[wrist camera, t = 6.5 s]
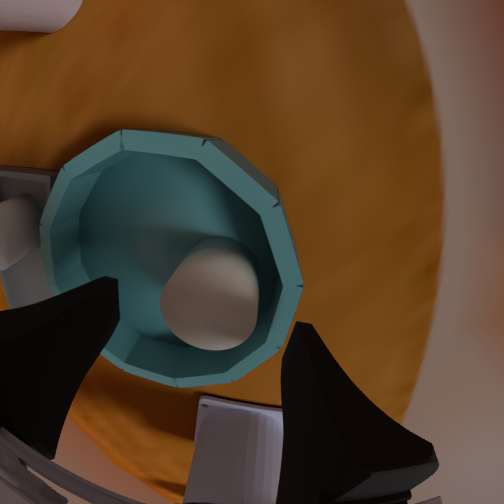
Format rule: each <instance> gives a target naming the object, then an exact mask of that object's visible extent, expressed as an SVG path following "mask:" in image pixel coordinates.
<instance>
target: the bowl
mask: <svg viewBox="0 0 504 504" xmlns="http://www.w3.org/2000/svg"><path fill="white" fill-rule="evenodd" d="M40 223H41V225H39V228H40V240H41V249H42V257H43V265H44V272H45V278H46V282H49V283H48V284H47V285H48V287H49V289H50V291H51V293H52V294H53V296H56V295H59V294H61V293H64V292H66V291H69V290H71V289H74V288H76V287H78V286H81V285H83V284H85V283H88V282H90V281H92V280H95V279H98V278H100V277H103V276H108V277H112V278H115V279H118V289H119V307H120V321H119V323H118V325H117V327H116V329H115V331H114V333H113V335H112V337H111V338H110V340H109V341H108V343H107V344H106V346H105V347H104V349H103V350H102V352H101V353H100V354H101V355H102V356H104V357H105V358H106V359H108V360H109V361H110V362H112V363H113V364H114V365H116V366H117V367H118V368H120V369H122V368H123V370H124V371H125V372H128V373H131V374H134V375H137V376H140V377H143V378H146V379H149V380H152V381H155V382H159V383H162V384H166V385H169V386H173V387H176V386H178V387H179V388H182V387H194V386H205V385H214V384H222V383H230V382H232V381H233V380H234V381H236V380H238V379H239V378H241V377H242V376H244V375H245V374H247V373H248V372H250V371H251V370H253V369H254V368H255V367H257V366H258V365H260V364H261V363H263V362H264V361H265V360H267V359H268V358H270V357H271V356H272V355H274V354H275V353H276V352H278V351H279V350H280V347H282V346H283V344H284V341H285V338H286V336H287V333H288V330H289V327H290V325H291V322H292V319H293V316H294V313H295V311H296V308H297V305H298V302H299V299H300V296H301V293H302V290H303V279H302V274H301V269H300V264H299V259H298V254H297V249H296V246H295V242H294V239H293V236H292V232H291V229H290V225H289V222H288V219H287V215H286V212H285V209H284V205H283V202H282V199H281V196H280V193H279V189H277V187H276V185H275V184H274V183H273V182H272V181H271V180H270V179H268V178H267V177H266V176H265V175H264V174H263V173H262V172H261V171H259V170H258V169H257V168H256V167H255V166H254V165H253V164H251V163H250V162H249V161H248V160H247V159H246V158H245V157H243V156H242V155H241V154H240V153H239V152H238V151H236V150H235V149H234V148H233V147H232V146H231V145H229V144H228V143H227V142H226V141H225V140H221V139H220V138H214V137H208V136H201V135H194V134H187V133H180V132H171V131H162V130H141V129H122V130H118V131H117V132H115V133H113V134H111V135H110V136H108V137H106V138H105V139H103V140H101V141H100V142H98V143H96V144H95V145H93V146H91V147H90V148H88V149H87V150H85V151H84V152H82V153H81V154H79V155H78V156H76V157H75V158H73V159H72V160H70V161H69V162H67V163H66V164H65V165H64V167H63V168H61V170H60V172H59V174H58V177H57V179H56V181H55V183H54V186H53V188H52V191H51V193H50V196H49V198H48V201H47V203H46V206H45V209H44V211H43V214H42V217H41V220H40ZM217 236H219V237H228V238H231V239H234V240H237V241H239V242H240V243H242V244H244V245H245V246H246V247H247V248H249V249H250V250H251V252H252V253H253V254H254V255H255V257H256V259H257V261H258V264H259V267H260V274H261V275H260V288H259V300H258V313H257V322H256V326H255V328H254V331H253V332H252V334H251V335H250V336H249V337H248V339H246V340H245V341H244V342H243V343H241V344H240V345H237V346H235V347H233V348H230V349H225V350H206V349H201V348H198V347H195V346H192V345H190V344H188V343H186V342H184V341H183V340H181V339H180V338H179V337H177V336H176V335H175V334H174V333H173V332H172V331H171V330H170V329H169V327H168V326H167V324H166V323H165V321H164V319H163V317H162V313H161V309H160V298H161V293H162V291H163V289H164V287H165V285H166V284H167V282H168V281H169V279H170V278H171V276H172V275H173V273H174V272H175V270H176V269H177V267H178V266H179V264H180V263H181V261H182V260H183V258H184V257H185V255H186V254H187V252H188V251H189V250H190V248H191V247H192V246H193V245H194V244H196V243H197V242H199V241H201V240H203V239H206V238H209V237H217Z"/></svg>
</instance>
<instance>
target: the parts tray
mask: <svg viewBox="0 0 504 504" xmlns="http://www.w3.org/2000/svg"><path fill="white" fill-rule="evenodd" d="M59 172H60V171H56V170H47V169H37V168H27V167H15V166H0V202H3V201H5V200H8V199H10V198H13V197H15V196H18V195H21V194H28V195H30V196H32V197H33V198H34V199H35V200H36V202H37V203H38V205H39V207H40V209H41V211H42V214H43V211H44V209H45V206H46V203H47V201H48V198H49V196H50V193H51V191H52V188H53V186H54V183H55V181H56V179H57V177H58V174H59ZM0 275H1V279H2V283H3V287H4V291H5V295H6V299H7V302H8V306H9V309H14V308H19V307H23V306H27V305H30V304H34V303H37V302H40V301H43V300H46V299H48V298H51V297H54V296H53V294H52V293H51V291H50V289H49V287H48V285H47V284H48V283H49V282H46V278H45V272H44V265H43V257H42V249H41V246H40V247H39V248H37V249H36V250H34V251H32V252H31V253H29V254H28V255H26V256H25V257H23V258H22V259H20V260H19V261H17V262H16V263H14V264H13V265H11V266H10V267H8V268H7V269H6V270H0Z"/></svg>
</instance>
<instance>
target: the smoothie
mask: <svg viewBox="0 0 504 504" xmlns="http://www.w3.org/2000/svg"><path fill="white" fill-rule="evenodd" d="M82 1H83V0H0V30H11V31H32V32H44V33H53V32H56V31H58V30H60V29H61V28H63V27H64V26H65V25H66V24H67V23H68V22H69V21H70V20H71V19H72V18H73V17H74V16H75V14H76V13H77V11H78V10H79V8H80V6H81V4H82Z"/></svg>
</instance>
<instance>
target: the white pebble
mask: <svg viewBox="0 0 504 504" xmlns="http://www.w3.org/2000/svg"><path fill="white" fill-rule="evenodd" d="M41 217H42V211H41V209H40V207H39V205H38V203H37V202H36V200H35V199H34V198H33V197H32V196H30V195H28V194H21V195H18V196H15V197H13V198H10V199H8V200H5V201H3V202H0V270H6V269H7V268H8V267H10V266H11V265H13V264H14V263H16V262H17V261H19V260H20V259H22V258H23V257H25V256H26V255H28V254H29V253H31V252H32V251H34V250H36V249H37V248H39V247H40V246H41V240H40V228H39V225H41V223H40V220H41Z"/></svg>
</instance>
